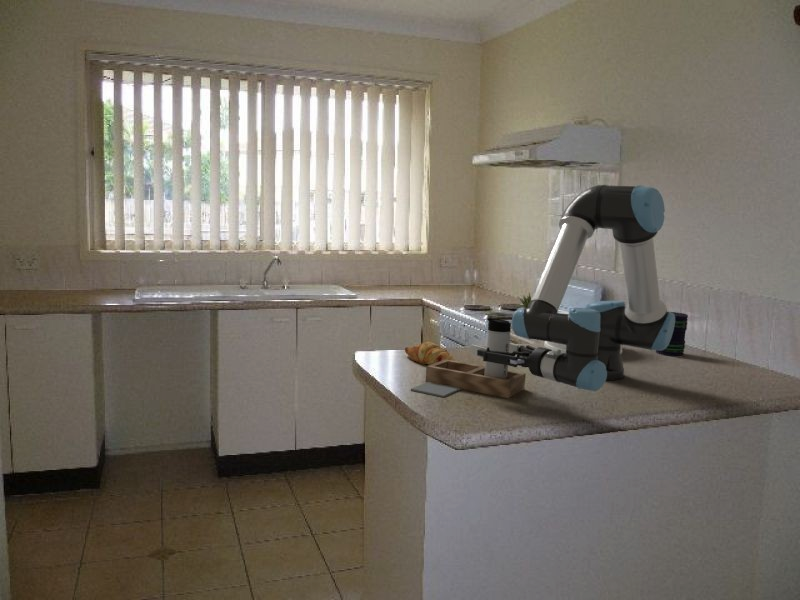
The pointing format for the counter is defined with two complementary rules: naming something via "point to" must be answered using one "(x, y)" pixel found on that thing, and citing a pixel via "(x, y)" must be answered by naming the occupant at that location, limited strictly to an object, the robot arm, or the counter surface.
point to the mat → (436, 389)
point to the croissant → (428, 353)
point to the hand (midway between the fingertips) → (486, 347)
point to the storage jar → (676, 337)
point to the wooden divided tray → (474, 378)
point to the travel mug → (497, 346)
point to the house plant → (525, 301)
